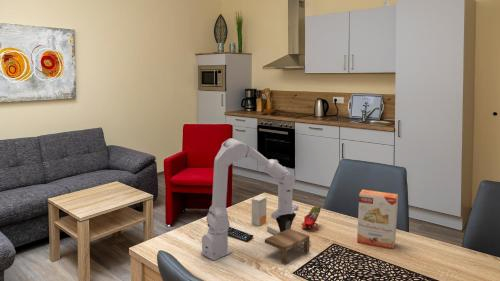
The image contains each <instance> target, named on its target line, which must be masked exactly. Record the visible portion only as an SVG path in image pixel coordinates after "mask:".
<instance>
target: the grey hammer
mask: <svg viewBox="0 0 500 281" xmlns="http://www.w3.org/2000/svg"><path fill="white" fill-rule="evenodd" d="M287 229H290V220H288V219H287V222H286V227H285V230H287ZM266 231H267V232H269V233H271V234H273V235H276V234H278V233H280V230H279V229H277V228H275V227H273V226H270V225H267V226H266ZM296 247H299V248H301V249H303V250H304V243H302V244H299V245H297V246H296Z"/></svg>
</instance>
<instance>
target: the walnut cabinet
mask: <svg viewBox="0 0 500 281" xmlns="http://www.w3.org/2000/svg"><path fill="white" fill-rule="evenodd" d="M309 240H310V235H308V234H306V233H302V232H300V231H296V230H295V229H292V228H291V229H287V230H285V231H283V232H280V233H278V234H276V235H275V234H273V235H271V236H269V237H266V238H265V239H264V243H265V244H267V245H268V246H271V247H274V248H276V249H279V250H281V264H283V265H287V264H288V261H289V259H288V258H289V254H288V253H289V250H291V249H292V248H295V247H298V246H297V245H299V244H302V243H304V249H303V253H305V254H308V253H310V246H309Z"/></svg>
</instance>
